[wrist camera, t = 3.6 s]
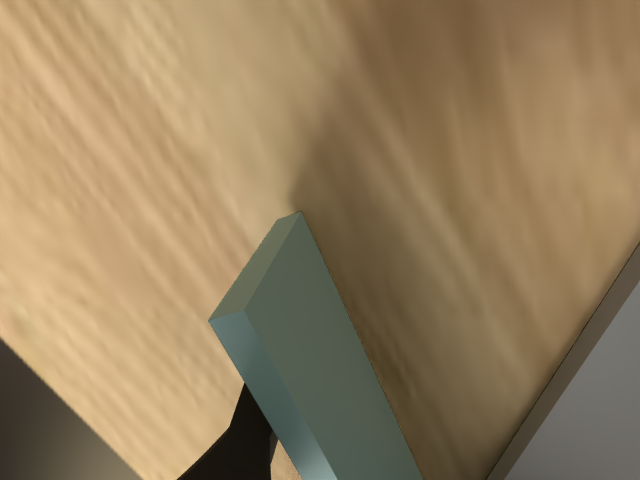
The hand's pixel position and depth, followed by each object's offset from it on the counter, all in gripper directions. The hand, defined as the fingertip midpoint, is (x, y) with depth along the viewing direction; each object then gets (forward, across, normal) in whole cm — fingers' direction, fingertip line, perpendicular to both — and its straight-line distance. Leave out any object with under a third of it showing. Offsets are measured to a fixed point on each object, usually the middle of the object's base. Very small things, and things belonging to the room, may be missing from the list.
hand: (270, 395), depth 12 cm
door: (+3, -3, +2) cm, 5 cm away
